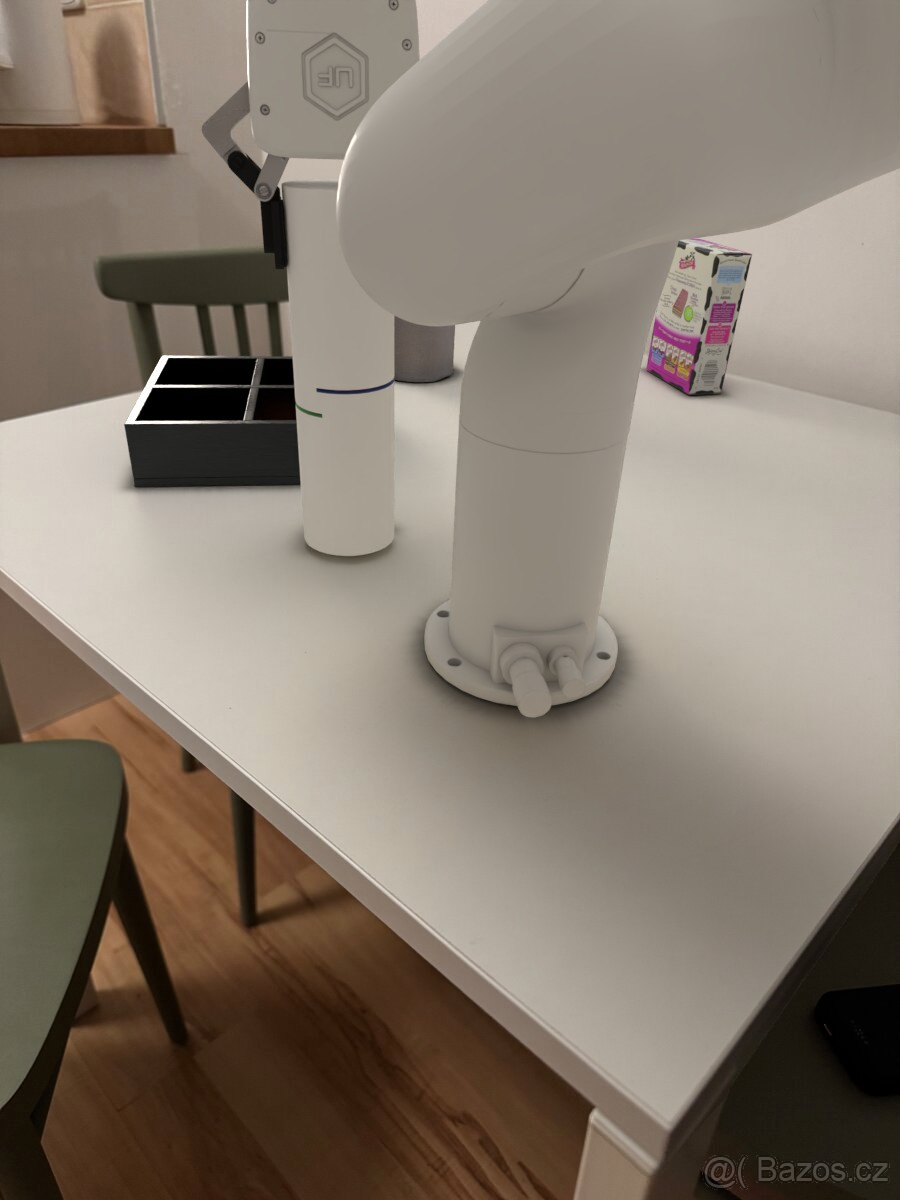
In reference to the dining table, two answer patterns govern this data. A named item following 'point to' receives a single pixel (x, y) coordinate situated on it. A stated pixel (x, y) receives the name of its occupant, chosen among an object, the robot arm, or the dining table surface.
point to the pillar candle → (422, 351)
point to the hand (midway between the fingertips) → (340, 264)
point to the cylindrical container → (338, 382)
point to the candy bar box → (698, 316)
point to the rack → (216, 423)
